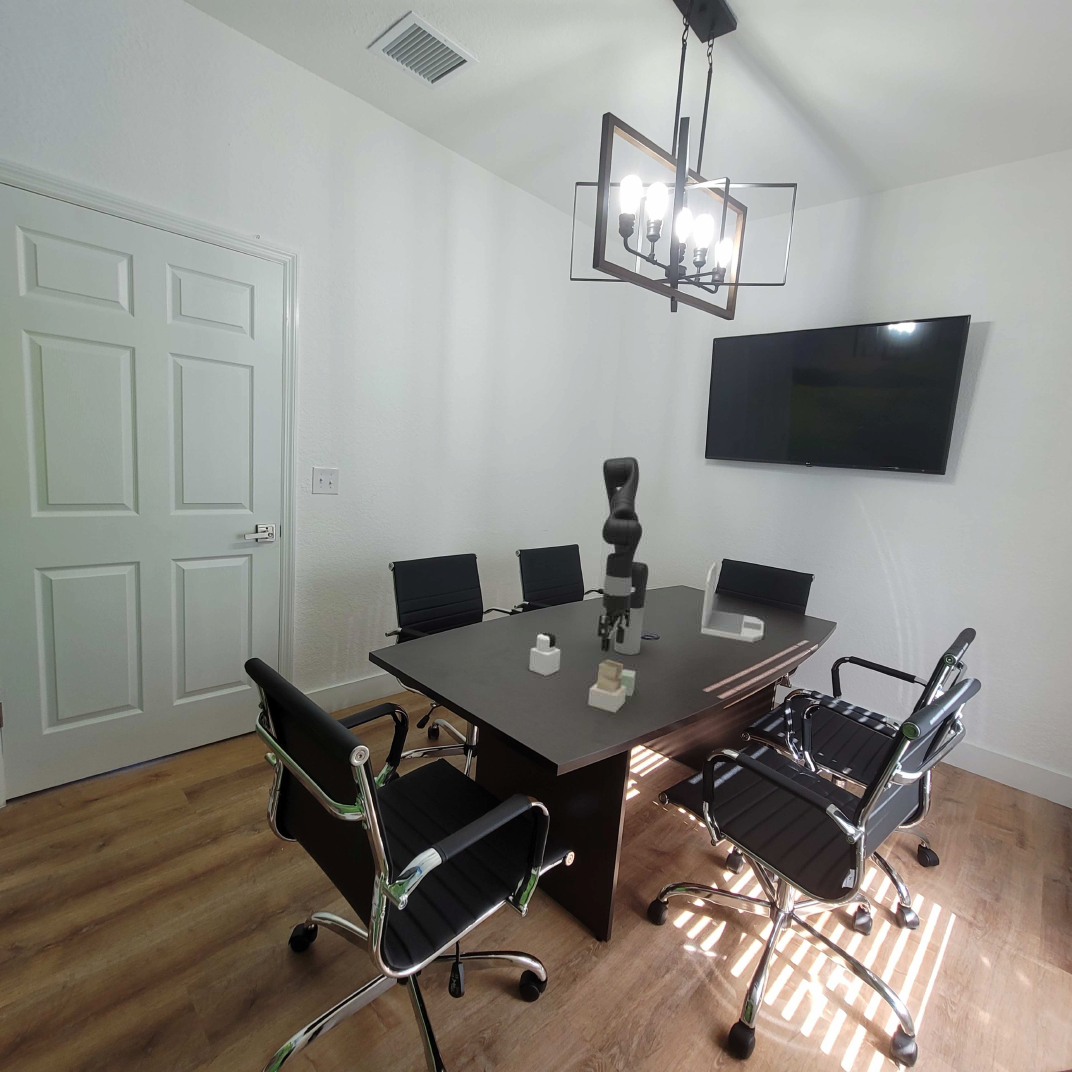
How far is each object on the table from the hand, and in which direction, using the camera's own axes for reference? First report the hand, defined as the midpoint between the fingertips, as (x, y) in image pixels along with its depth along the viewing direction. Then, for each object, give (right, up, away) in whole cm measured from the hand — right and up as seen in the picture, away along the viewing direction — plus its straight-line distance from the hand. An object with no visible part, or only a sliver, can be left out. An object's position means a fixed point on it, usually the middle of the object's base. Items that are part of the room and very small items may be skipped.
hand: (612, 646), depth 153 cm
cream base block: (-1, -17, +3) cm, 17 cm away
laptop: (+65, -9, +85) cm, 107 cm away
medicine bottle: (-19, -13, +24) cm, 33 cm away
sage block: (+5, -16, +11) cm, 20 cm away
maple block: (-1, -12, +2) cm, 12 cm away
